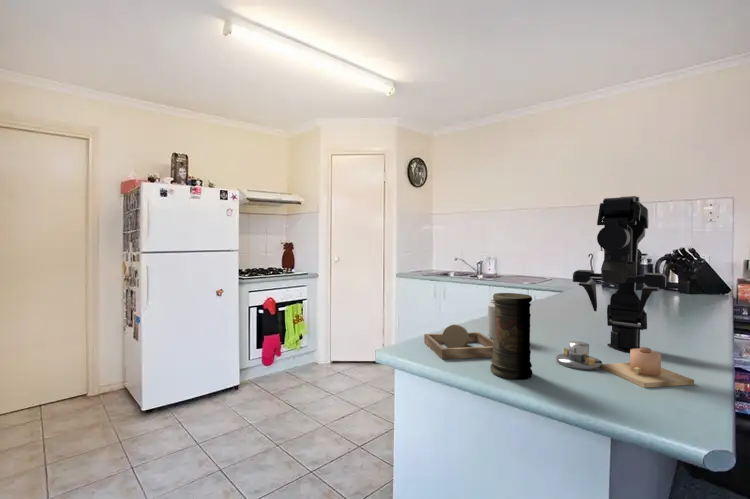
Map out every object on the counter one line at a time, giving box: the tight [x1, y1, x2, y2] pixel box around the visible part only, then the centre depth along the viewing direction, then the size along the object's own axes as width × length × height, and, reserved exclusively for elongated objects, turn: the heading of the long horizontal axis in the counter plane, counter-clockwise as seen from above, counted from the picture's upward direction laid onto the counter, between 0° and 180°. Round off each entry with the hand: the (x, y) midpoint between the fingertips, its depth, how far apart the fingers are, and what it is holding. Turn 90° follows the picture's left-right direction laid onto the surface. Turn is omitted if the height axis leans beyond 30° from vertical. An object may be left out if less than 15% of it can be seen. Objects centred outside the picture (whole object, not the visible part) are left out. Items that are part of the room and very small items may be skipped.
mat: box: [601, 362, 695, 389], centre depth 86 cm, size 12×12×1 cm
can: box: [487, 298, 495, 341], centre depth 118 cm, size 8×8×12 cm
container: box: [490, 292, 533, 381], centre depth 87 cm, size 9×9×18 cm
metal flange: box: [555, 340, 603, 371], centre depth 94 cm, size 10×10×5 cm
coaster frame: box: [423, 331, 494, 360], centre depth 107 cm, size 17×16×2 cm
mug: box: [442, 323, 469, 348], centre depth 108 cm, size 8×10×10 cm
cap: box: [629, 346, 662, 376], centre depth 86 cm, size 6×8×5 cm
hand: (616, 313), depth 93 cm, fingers open, 9 cm apart
